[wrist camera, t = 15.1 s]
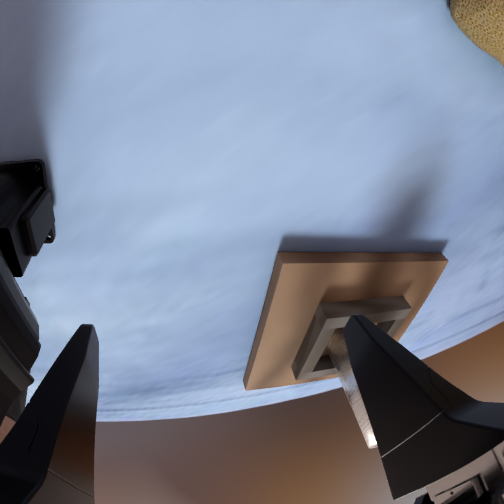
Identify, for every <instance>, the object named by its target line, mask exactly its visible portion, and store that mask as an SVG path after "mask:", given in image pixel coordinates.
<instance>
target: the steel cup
mask: <svg viewBox="0 0 504 504" xmlns="http://www.w3.org/2000/svg"><path fill="white" fill-rule="evenodd" d="M343 330H344V327H341V328H336V329H335V331H334V333H333V334H332V336H331V338H330V340H329V342H328V344H327V346H326V349H327V352H328V354H329V356H330V358H331V361H332V363H333V365H334V367H335V370H336V372H337V374H338V377H339V379H340V381H341V384H342V386H343V388H344V390H345V393H346V395H347V397H348V400H349V402H350V404H351V407H352V409H353V412H354V414H355V416H356V418H357V421H358V423H359V426H360V428H361V431H362V433H363V435H364V438H365V440H366V442H367V445H368V447H369V448H376V447H378V446H377V443H376V440H375V437H374V433H373V430H372V427H371V424H370V421H369V418H368V415H367V412H366V409H365V406H364V403H363V400H362V397H361V394H360V391H359V388H358V385H357V383H356V380H355V377H354V374H353V371H352V368H351V364H350V360H349V356H348V351H347V347H346V343H345V339H344V335H343Z"/></svg>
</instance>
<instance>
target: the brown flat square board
mask: <svg viewBox="0 0 504 504" xmlns="http://www.w3.org/2000/svg"><path fill="white" fill-rule="evenodd" d="M447 263H448V260H447V259H446V258H445V256H444V255H443V254H442V253H387V252H278V253H277V257H276V261H275V265H274V268H273V272H272V276H271V280H270V284H269V288H268V291H267V295H266V299H265V303H264V306H263V310H262V314H261V317H260V321H259V325H258V329H257V332H256V336H255V340H254V343H253V347H252V350H251V354H250V358H249V361H248V365H247V368H246V372H245V375H244V379H243V382H244V387H245V391H246V390H255V389H264V388H272V387H280V386H287V385H294V384H300V383H307V382H313V381H319V380H324V379H330V378H335V377H338V374H337V372H336V370H335V367H334V365H333V363H332V361H331V358H330V356H329V354H328V352H327V349H326V346H327V344H328V342H329V340H330V338H331V336H332V334H333V333H334V331H335V329H336V328H341V327H345V325H346V323H347V321H348V320H349V318H350V316H351V315H353V314H362V315H364V316H365V317H366V318H368V319H369V320H370V321H372V322H373V323H374V324H375V325H377V326H378V327H379V328H381V329H382V330H383V331H384V332H386V333H387V334H388V335H389V336H391V337H392V338H393V339H395V340H396V341H397V342H398V341H399V339H400V338H401V336H402V335H403V334H404V332H405V331H406V329H407V328H408V326H409V325H410V323H411V322H412V320H413V319H414V317H415V316H416V314H417V313H418V311H419V310H420V308H421V307H422V305H423V303H424V302H425V300H426V299H427V297H428V295H429V294H430V292H431V290H432V289H433V287H434V285H435V284H436V282H437V280H438V279H439V277H440V275H441V273H442V272H443V270H444V268H445V266H446V265H447Z"/></svg>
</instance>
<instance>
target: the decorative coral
mask: <svg viewBox="0 0 504 504" xmlns="http://www.w3.org/2000/svg"><path fill="white" fill-rule="evenodd" d="M450 10H451V16H452V18H453V20H454V21H455V23H456V24H457V26H458V28H459V29H460V30H461V31H462V32H463V33H464V34H465V35H466V36H467V37H468V38H469V39H470V40H471V41H472V42H473V43H474V44H475V45H477V46H478V47H479V48H480V49H482V50H483V51H485V52H486V53H488V54H489V55H491V56H492V57H494V58H495V59H497V60H498V61H499V62H500V63H501V64H502V65H503V66H504V0H450Z"/></svg>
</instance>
